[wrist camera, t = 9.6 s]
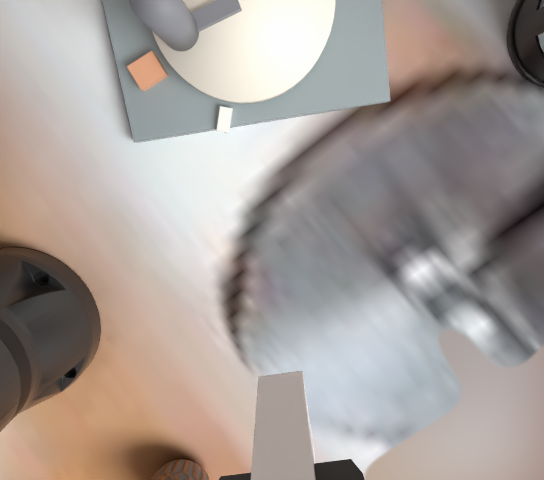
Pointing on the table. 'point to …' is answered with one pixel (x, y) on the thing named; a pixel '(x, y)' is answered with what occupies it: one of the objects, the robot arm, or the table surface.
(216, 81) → the dial
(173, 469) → the vase
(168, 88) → the dial board
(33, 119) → the table surface
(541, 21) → the french press
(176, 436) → the table surface
